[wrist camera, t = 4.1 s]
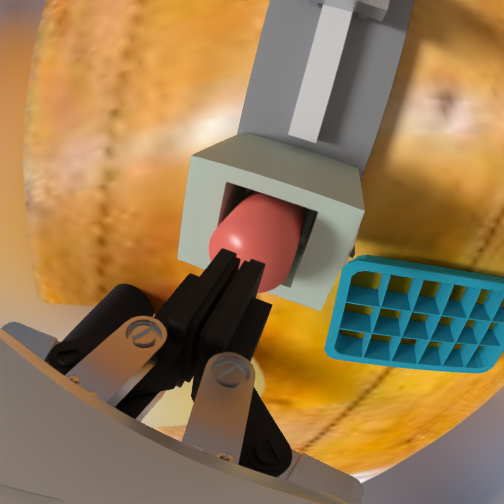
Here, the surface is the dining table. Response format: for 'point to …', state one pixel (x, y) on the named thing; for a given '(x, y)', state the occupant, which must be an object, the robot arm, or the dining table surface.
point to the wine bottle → (113, 312)
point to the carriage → (358, 7)
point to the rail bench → (349, 87)
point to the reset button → (262, 235)
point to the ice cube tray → (430, 330)
